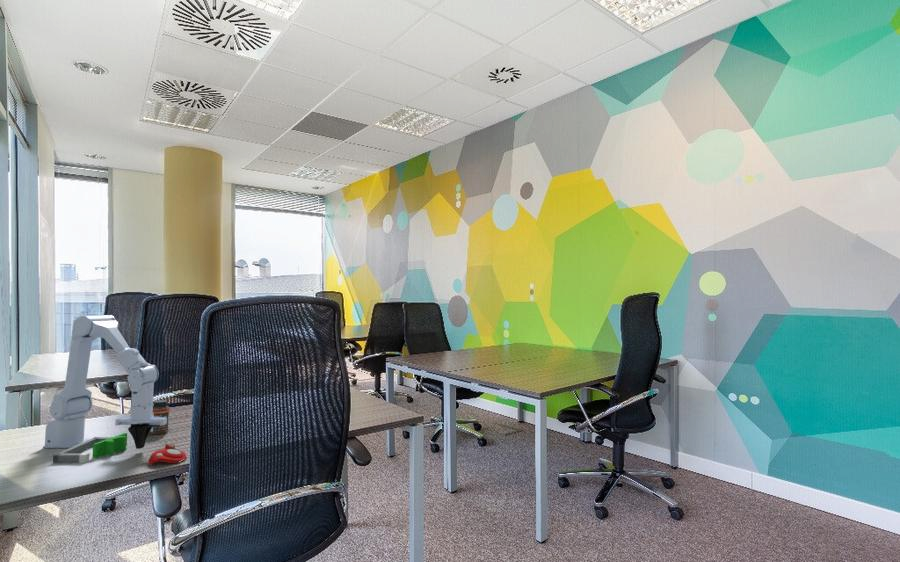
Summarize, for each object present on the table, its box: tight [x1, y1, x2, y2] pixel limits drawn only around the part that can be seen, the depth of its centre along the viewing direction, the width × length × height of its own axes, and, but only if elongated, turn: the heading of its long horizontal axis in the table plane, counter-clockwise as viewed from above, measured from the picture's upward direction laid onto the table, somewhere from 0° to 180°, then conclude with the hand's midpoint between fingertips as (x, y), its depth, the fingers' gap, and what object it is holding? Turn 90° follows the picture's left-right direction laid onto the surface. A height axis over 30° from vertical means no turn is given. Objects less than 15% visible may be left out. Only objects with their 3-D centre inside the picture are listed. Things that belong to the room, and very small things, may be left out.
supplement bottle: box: [149, 399, 171, 435], centre depth 161 cm, size 6×6×11 cm
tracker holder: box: [147, 442, 188, 466], centre depth 134 cm, size 12×4×10 cm
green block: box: [92, 432, 128, 459], centre depth 140 cm, size 11×4×5 cm, turn 173°
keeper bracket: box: [52, 436, 112, 464], centre depth 139 cm, size 9×17×2 cm, turn 4°
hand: (140, 447), depth 140 cm, fingers closed
